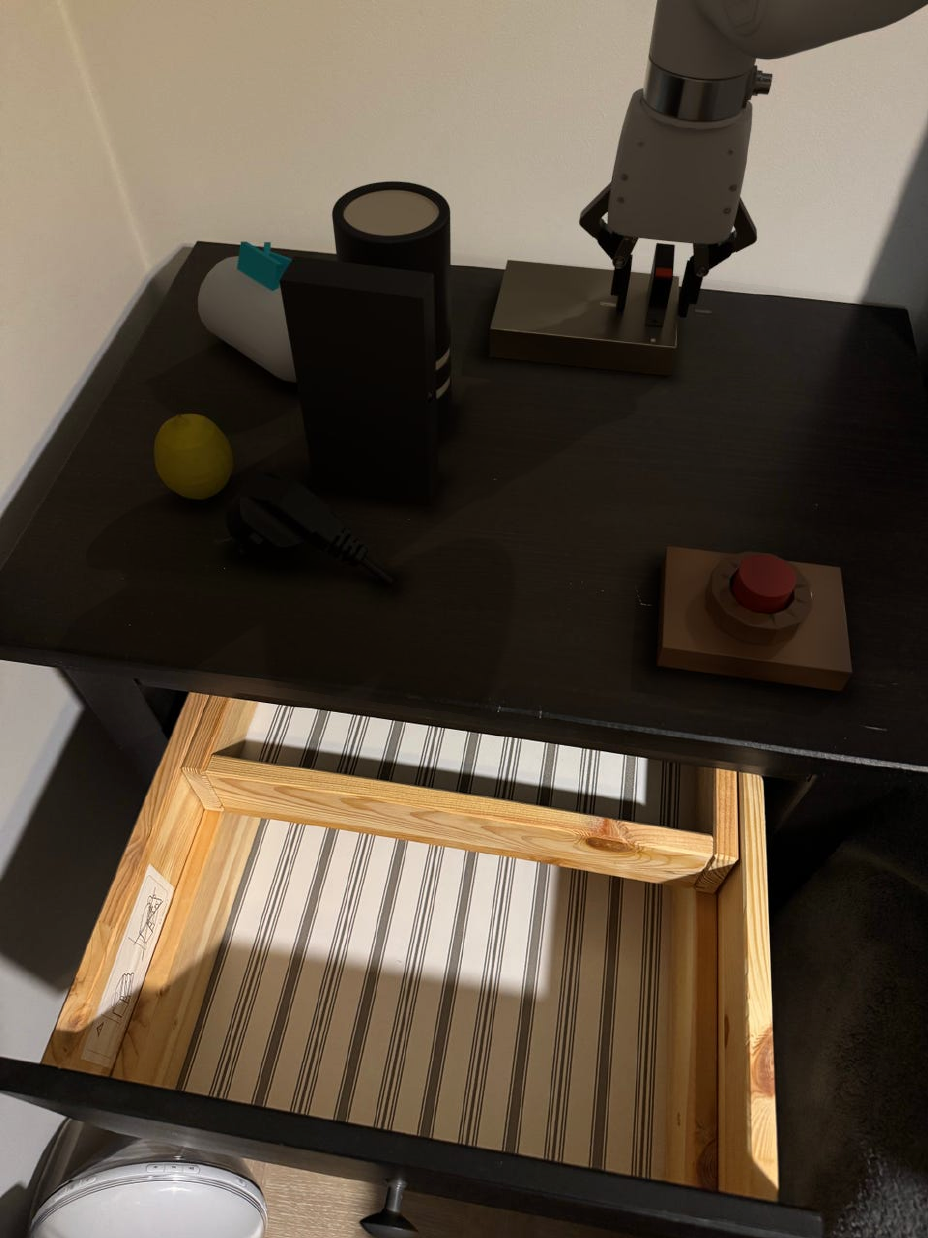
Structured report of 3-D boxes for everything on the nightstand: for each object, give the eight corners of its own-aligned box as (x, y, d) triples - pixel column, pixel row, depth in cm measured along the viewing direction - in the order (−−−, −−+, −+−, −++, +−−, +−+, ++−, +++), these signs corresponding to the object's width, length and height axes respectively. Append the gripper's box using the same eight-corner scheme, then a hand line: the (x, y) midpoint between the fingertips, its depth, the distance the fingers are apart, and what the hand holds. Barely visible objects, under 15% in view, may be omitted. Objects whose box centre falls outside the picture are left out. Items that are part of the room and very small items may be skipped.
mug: (300, 289, 69) (205, 231, 74) (280, 399, 74) (193, 338, 79) (404, 287, 78) (313, 235, 83) (380, 385, 83) (295, 331, 88)
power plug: (379, 606, 62) (235, 496, 59) (332, 640, 68) (198, 542, 65) (412, 550, 65) (277, 442, 62) (364, 587, 71) (238, 490, 68)
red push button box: (830, 587, 65) (849, 549, 61) (841, 691, 59) (862, 656, 56) (661, 565, 66) (671, 527, 63) (656, 666, 60) (667, 630, 57)
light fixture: (470, 393, 78) (473, 188, 63) (433, 506, 69) (427, 298, 55) (360, 378, 79) (339, 173, 65) (311, 486, 70) (275, 278, 56)
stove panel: (703, 307, 85) (711, 277, 83) (702, 380, 79) (710, 349, 76) (506, 287, 87) (507, 257, 85) (489, 357, 81) (490, 326, 78)
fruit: (245, 514, 69) (224, 432, 62) (171, 527, 68) (141, 446, 61) (237, 465, 72) (216, 383, 66) (166, 477, 71) (138, 395, 65)
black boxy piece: (647, 289, 82) (656, 239, 78) (665, 290, 82) (675, 241, 78) (644, 324, 79) (654, 274, 75) (663, 326, 78) (673, 276, 75)
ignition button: (786, 575, 60) (794, 557, 59) (789, 617, 58) (797, 600, 57) (732, 568, 61) (738, 550, 59) (732, 609, 59) (739, 592, 57)
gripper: (811, 73, 67) (747, 291, 82) (584, 54, 69) (560, 271, 83) (818, 119, 63) (749, 341, 77) (574, 97, 64) (551, 319, 79)
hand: (651, 303), depth 80 cm, fingers open, 4 cm apart
